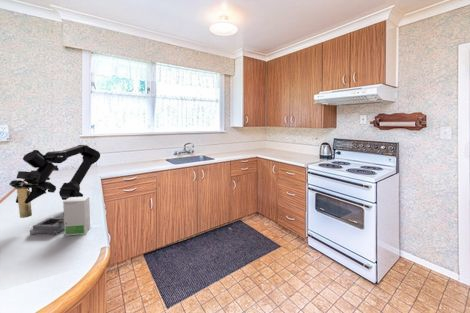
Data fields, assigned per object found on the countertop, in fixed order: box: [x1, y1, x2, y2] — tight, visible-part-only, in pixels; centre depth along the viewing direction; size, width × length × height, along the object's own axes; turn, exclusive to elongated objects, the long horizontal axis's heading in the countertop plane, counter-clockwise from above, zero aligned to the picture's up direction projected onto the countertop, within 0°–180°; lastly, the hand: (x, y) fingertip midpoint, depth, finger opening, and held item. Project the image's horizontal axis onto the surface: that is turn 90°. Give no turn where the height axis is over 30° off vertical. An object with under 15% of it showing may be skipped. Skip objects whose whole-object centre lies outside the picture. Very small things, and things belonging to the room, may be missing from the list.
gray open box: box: [29, 217, 65, 236], centre depth 101 cm, size 12×9×5 cm
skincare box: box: [62, 196, 91, 237], centre depth 99 cm, size 8×7×16 cm
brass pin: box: [16, 187, 33, 219], centre depth 99 cm, size 4×4×13 cm
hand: (21, 203), depth 98 cm, fingers closed on brass pin, 4 cm apart
